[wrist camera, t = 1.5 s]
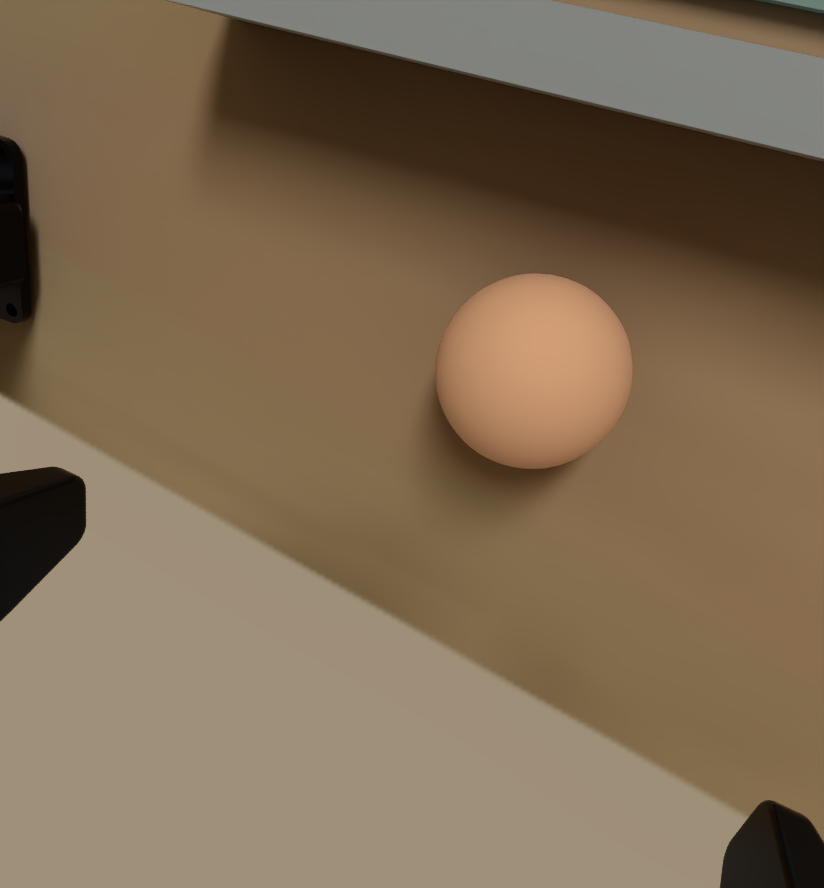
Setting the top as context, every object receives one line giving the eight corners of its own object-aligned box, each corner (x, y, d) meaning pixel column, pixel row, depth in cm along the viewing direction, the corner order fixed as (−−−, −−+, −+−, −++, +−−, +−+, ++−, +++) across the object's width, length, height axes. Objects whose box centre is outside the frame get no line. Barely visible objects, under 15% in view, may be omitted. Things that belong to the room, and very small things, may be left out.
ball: (446, 395, 21) (390, 461, 17) (488, 237, 19) (434, 267, 15) (601, 448, 20) (582, 532, 16) (665, 288, 18) (663, 336, 14)
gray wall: (237, 19, 19) (141, -6, 15) (243, -45, 18) (143, -87, 15) (1236, 262, 14) (1418, 302, 11) (1295, 187, 13) (1511, 205, 10)
